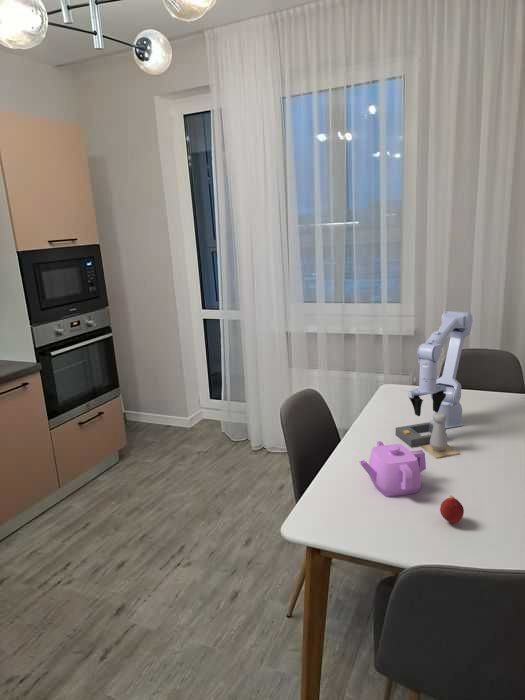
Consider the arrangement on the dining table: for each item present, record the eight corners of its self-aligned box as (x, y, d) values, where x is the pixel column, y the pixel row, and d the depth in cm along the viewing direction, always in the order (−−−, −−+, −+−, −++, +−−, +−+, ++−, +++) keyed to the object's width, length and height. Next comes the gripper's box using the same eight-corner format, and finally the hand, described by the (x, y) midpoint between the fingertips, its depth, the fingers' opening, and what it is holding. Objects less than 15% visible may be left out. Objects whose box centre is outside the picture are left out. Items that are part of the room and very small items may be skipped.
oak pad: (444, 443, 175) (444, 441, 174) (459, 454, 166) (460, 452, 166) (421, 447, 173) (421, 445, 172) (436, 458, 164) (436, 457, 164)
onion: (463, 518, 132) (465, 492, 130) (462, 531, 127) (463, 503, 125) (440, 514, 134) (441, 488, 132) (438, 526, 129) (439, 499, 127)
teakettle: (411, 505, 139) (413, 465, 136) (356, 489, 149) (356, 452, 145) (429, 478, 153) (431, 442, 149) (377, 465, 162) (378, 431, 159)
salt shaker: (425, 448, 171) (427, 413, 167) (437, 443, 173) (438, 409, 170) (439, 454, 166) (441, 418, 162) (450, 449, 168) (452, 414, 165)
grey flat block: (428, 429, 186) (429, 420, 185) (446, 441, 176) (446, 432, 175) (395, 435, 183) (395, 426, 182) (411, 447, 173) (411, 438, 172)
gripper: (438, 371, 177) (436, 406, 181) (403, 377, 173) (402, 412, 177) (451, 376, 171) (449, 412, 175) (415, 382, 167) (414, 419, 170)
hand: (426, 413), depth 175 cm, fingers open, 7 cm apart
